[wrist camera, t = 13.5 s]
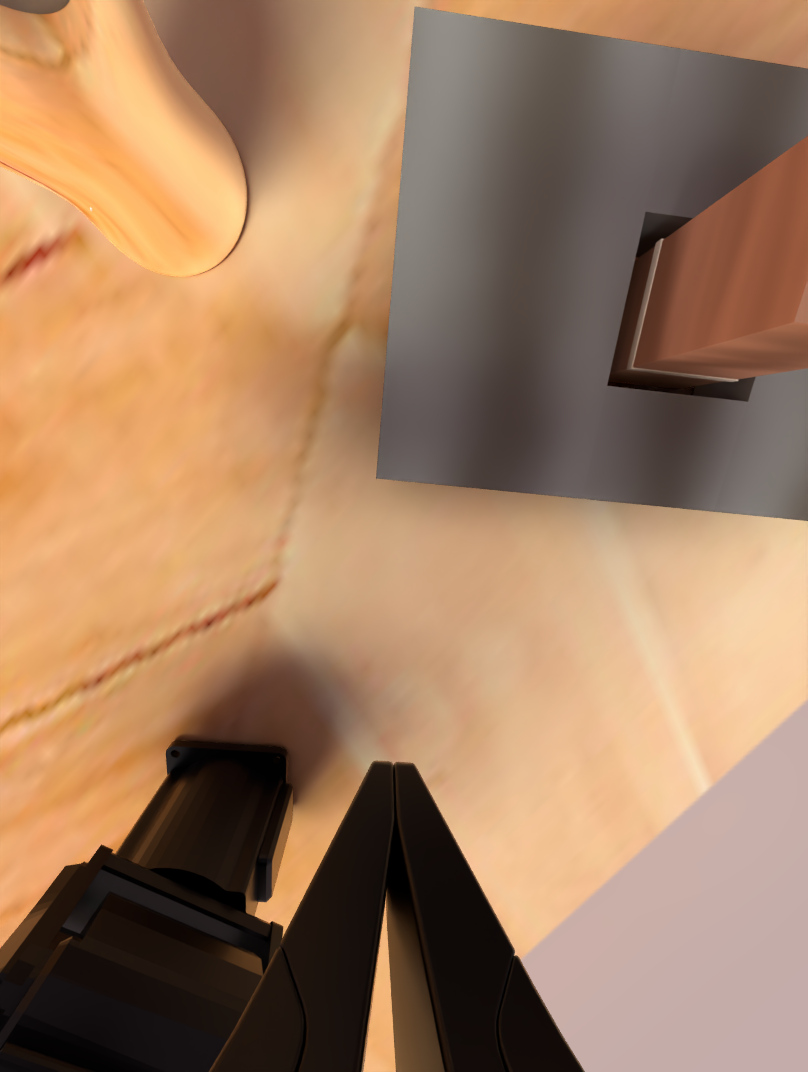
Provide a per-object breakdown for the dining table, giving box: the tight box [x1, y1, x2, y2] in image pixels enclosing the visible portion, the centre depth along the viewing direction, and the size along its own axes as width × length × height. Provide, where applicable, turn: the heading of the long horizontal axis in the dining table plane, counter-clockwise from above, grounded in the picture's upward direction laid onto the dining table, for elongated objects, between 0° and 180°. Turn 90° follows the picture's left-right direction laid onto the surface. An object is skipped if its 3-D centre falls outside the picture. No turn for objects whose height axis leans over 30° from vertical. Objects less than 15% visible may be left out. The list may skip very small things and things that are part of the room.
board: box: [376, 7, 808, 521], centre depth 15 cm, size 22×14×3 cm, turn 84°
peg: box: [608, 136, 808, 389], centre depth 12 cm, size 4×4×9 cm
